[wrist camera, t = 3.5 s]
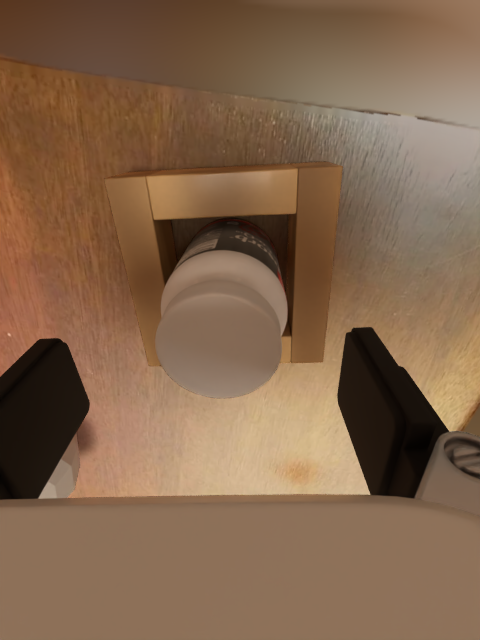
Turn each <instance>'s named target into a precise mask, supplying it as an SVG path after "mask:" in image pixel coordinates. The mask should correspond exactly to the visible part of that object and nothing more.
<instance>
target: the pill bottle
mask: <svg viewBox="0 0 480 640" xmlns="http://www.w3.org/2000/svg"><path fill="white" fill-rule="evenodd" d="M287 314H288V310H287V299H286V294H285V290H284V286H283V281H282V277H281V272H280V268H279V263H278V258H277V254H276V251H275V248H274V246H273V244H272V242H271V240H270V239H269V238H268V236H267V235H266V234H265V233H264V232H263V231H262V230H261V229H260V228H258V227H257V226H255V225H254V224H252V223H249V222H247V221H244V220H239V219H222V220H218V221H215V222H212V223H210V224H208V225H207V226H205V227H204V228H202V229H201V230H200V231H199V232H198V233H197V234H196V235H195V236H194V238H193V239H192V241H191V242H190V244H189V246H188V247H187V249H186V251H185V252H184V254H183V256H182V257H181V259H180V261H179V262H178V264H177V266H176V267H175V269H174V271H173V272H172V274H171V275H170V277H169V279H168V281H167V283H166V286H165V288H164V291H163V294H162V299H161V316H162V318H161V321H160V323H159V325H158V328H157V331H156V337H155V347H156V353H157V356H158V360H159V362H160V364H161V366H162V367H163V369H164V370H165V372H166V373H167V374H168V376H169V377H170V378H171V379H172V380H174V381H175V382H176V383H177V384H178V385H180V386H181V387H183V388H185V389H187V390H188V391H191V392H193V393H195V394H198V395H202V396H205V397H211V398H234V397H239V396H243V395H246V394H249V393H251V392H253V391H255V390H257V389H259V388H260V387H261V386H263V385H264V384H265V383H266V382H267V381H268V380H269V379H270V378H271V377H272V376H273V374H274V373H275V371H276V370H277V368H278V365H279V363H280V359H281V355H282V339H281V336H282V334H283V332H284V329H285V326H286V322H287Z"/></svg>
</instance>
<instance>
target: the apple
mask: <svg viewBox="0 0 480 640" xmlns="http://www.w3.org/2000/svg"><path fill="white" fill-rule="evenodd" d="M79 468H80V458H79V447H78V440H77V433H76V434H75V435H74V437H73V439H72V441H71V442H70V444H69V446H68V448H67V449H66V451H65V453H64V455H63V456H62V458H61V460H60V461H59V463H58V465H57V467H56V468H55V470H54V472H53V474H52V475H51V477H50V479H49V481H48V482H47V484H46V486H45V488H44V489H43V491H42V493H41V494H40V496H39V498H38V499H49V498H67V497H68V496H69V495H70V494H71V493H72V492H73V491H74V489H75V485H76V481H77V477H78V472H79Z"/></svg>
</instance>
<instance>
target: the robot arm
mask: <svg viewBox="0 0 480 640" xmlns="http://www.w3.org/2000/svg"><path fill="white" fill-rule="evenodd" d="M337 396H338V404H339V407H340V410H341V413H342V416H343V418H344V421H345V424H346V427H347V430H348V432H349V435H350V438H351V441H352V444H353V446H354V449H355V452H356V455H357V458H358V460H359V463H360V466H361V469H362V472H363V474H364V477H365V480H366V483H367V486H368V488H369V491H370V494H371V495H321V494H293V495H207V496H147V497H92V498H49V499H38V498H39V496H40V494H41V493H42V491H43V489H44V488H45V486H46V484H47V482H48V481H49V479H50V477H51V475H52V474H53V472H54V470H55V468H56V467H57V465H58V463H59V461H60V460H61V458H62V456H63V455H64V453H65V451H66V449H67V448H68V446H69V444H70V442H71V441H72V439H73V437H74V435H75V434H76V432H77V430H78V429H79V427H80V425H81V423H82V422H83V420H84V418H85V416H86V415H87V413H88V411H89V406H90V403H89V399H88V397H87V394H86V391H85V389H84V386H83V384H82V381H81V378H80V376H79V373H78V371H77V368H76V365H75V363H74V360H73V358H72V355H71V352H70V350H69V347H68V345H67V344H66V343H64V342H63V341H62V340H61V339H58V338H53V339H40V340H38V341H37V342H36V343H35V344H34V345H33V346H32V347H31V348H30V349H29V350H28V351H27V352H25V353H24V354H23V355H22V356H21V357H20V358H19V359H18V360H17V361H16V362H15V363H14V364H13V365H12V366H11V367H10V368H9V369H8V370H7V371H6V372H5V373H4V374H3V375H2V376H1V377H0V640H480V437H479V436H476V435H473V434H470V433H467V432H460V431H452V432H449V430H448V429H447V428H446V426H445V425H444V423H443V422H442V421H441V419H440V418H439V416H438V415H437V413H436V412H435V411H434V409H433V408H432V406H431V405H430V404H429V402H428V401H427V399H426V398H425V396H424V395H423V394H422V392H421V391H420V389H419V388H418V387H417V385H416V384H415V382H414V381H413V379H412V378H411V377H410V375H409V374H408V372H407V371H406V370H405V369H404V368H403V367H401V366H398V364H397V363H396V362H395V360H394V359H393V357H392V356H391V354H390V353H389V351H388V350H387V348H386V347H385V346H384V344H383V343H382V341H381V340H380V338H379V337H378V335H377V334H376V332H375V331H374V329H373V328H371V327H364V328H353V329H352V331H351V332H347V333H346V337H345V344H344V351H343V358H342V365H341V373H340V380H339V387H338V395H337Z"/></svg>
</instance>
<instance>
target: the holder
mask: <svg viewBox="0 0 480 640" xmlns="http://www.w3.org/2000/svg"><path fill="white" fill-rule="evenodd" d="M342 170H343V166H341V165H337V164H333V163H330V162H326V161H323V162H304V163H290V164H288V163H286V164H267V165H248V166H229V167H210V168H191V169H172V170H163V171H162V170H153V171H134V172H126V173H122V174H119V175H115V176H111V177H107V178H104V182H105V187H106V191H107V195H108V199H109V203H110V207H111V211H112V216H113V220H114V224H115V228H116V232H117V236H118V240H119V245H120V249H121V253H122V257H123V261H124V265H125V269H126V274H127V278H128V282H129V286H130V290H131V294H132V299H133V303H134V307H135V311H136V315H137V319H138V323H139V328H140V332H141V336H142V340H143V344H144V348H145V352H146V357H147V361H148V365H149V366H161V364H160V362H159V360H158V356H157V353H156V347H155V337H156V331H157V328H158V325H159V323H160V321H161V318H162V316H161V299H162V294H163V291H164V288H165V286H166V283H167V281H168V279H169V277H170V275H171V274H172V272H173V271H174V269H175V267H176V266H177V259H176V252H175V246H174V239H173V233H172V226H171V220H170V219H189V218H211V217H233V216H255V215H277V214H288V250H287V288H286V299H287V310H288V314H287V322H286V326H285V329H284V332H283V334H282V336H281V339H282V355H281V359H280V363H290V362H291V363H314V362H323V358H324V348H325V338H326V328H327V318H328V308H329V298H330V289H331V279H332V269H333V259H334V249H335V239H336V229H337V220H338V210H339V200H340V190H341V180H342Z"/></svg>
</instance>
